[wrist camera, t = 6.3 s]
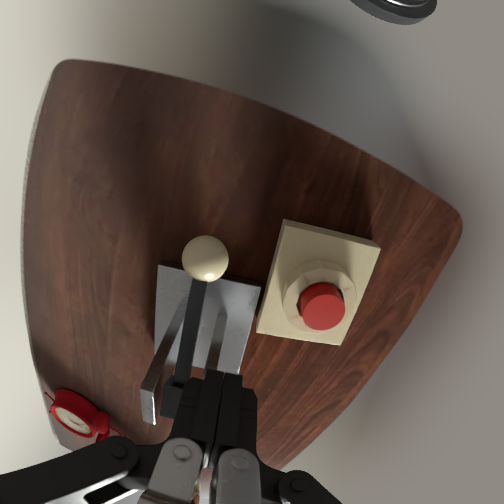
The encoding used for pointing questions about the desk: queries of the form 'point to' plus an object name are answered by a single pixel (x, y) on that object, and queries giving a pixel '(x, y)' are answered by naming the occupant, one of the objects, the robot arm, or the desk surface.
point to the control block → (314, 279)
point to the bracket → (210, 330)
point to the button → (322, 307)
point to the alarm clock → (80, 415)
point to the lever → (193, 311)
